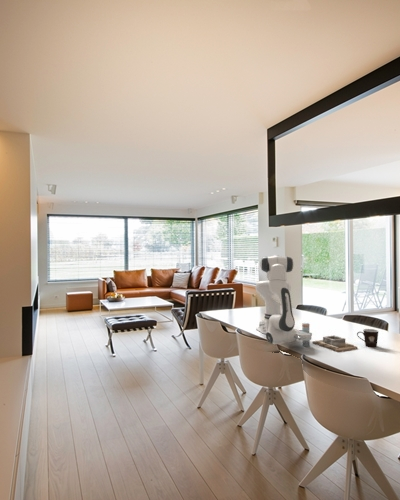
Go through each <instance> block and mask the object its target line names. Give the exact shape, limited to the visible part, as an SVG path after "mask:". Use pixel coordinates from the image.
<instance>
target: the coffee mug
mask: <svg viewBox="0 0 400 500" xmlns="http://www.w3.org/2000/svg"><path fill="white" fill-rule="evenodd" d="M359 334H362V335H363V338H364V339H363V338H361V336H359ZM356 336H357V337H358V338H359V339H360V340H362V341H363V342H364V344H365V346H366V347H367V348H373V349H374V348H378V339H379V330H378V329H375V328H374V329H373V328H365V329H364V328H363V331H358V332H357V333H356Z"/></svg>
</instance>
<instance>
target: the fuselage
mask: <svg viewBox="0 0 400 500" xmlns="http://www.w3.org/2000/svg"><path fill="white" fill-rule="evenodd" d="M301 325H302V326H301V327H302V328H301V330H302V331H303V332H306V333H310V323H309V322H302V324H301ZM310 342H311V340H306V341H302V346H304V347H310V345H311V344H310Z"/></svg>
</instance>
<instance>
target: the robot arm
mask: <svg viewBox="0 0 400 500" xmlns="http://www.w3.org/2000/svg"><path fill="white" fill-rule="evenodd" d="M294 265H295V263H294V261H293V258H292V257H289V256H282V255H281V256H280V255H272V256H271V255H270V256H262V258H261V259H260V261H259V267H260V269H261V271H262V272H265V273H266V279H267V280H259V281H257V283H256V284H255V291H256V293H257V294H258V295H259V296H260V297H261V298H262V299H263V301H264V304H265V305H264V306H265V313H264V318H263V319H261V321H259V325H258V327H256V328H255V330H256V331H258V332H260V333H262V334H265V338H266V340H267V342H269V344H271V345H281V344H284V343H285V344H288V343H294V342H295V341H296V340H298V341H306V340H310V341H312V336H313V333H312V332H309V333H306V332H303V331H302V329H300V330H299V329H296V328H294V327H295V325H296V324H295V323H296V322H295V318H294V314H293V306H292V300H291V299H292V298H291V284H290V283H289V282H288V281H287V273H291V272H292V271H293V269H294ZM273 296H277V297H278V299H280V302H279V301H278V300H276V299H275V298H273Z"/></svg>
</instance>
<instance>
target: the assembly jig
mask: <svg viewBox="0 0 400 500" xmlns="http://www.w3.org/2000/svg"><path fill="white" fill-rule="evenodd" d="M311 342H312V345H313V344H314V345H316V346H320V347H322V348H325V349H328V350H331V351H334V352H337V353H341V352H347V351H353V350H357V349H358V346H355V345H354V344H352V343H348V342H346V338H345V337H341V336H338V335H327V336H323V337H322V339H320V340H315V341H312V340H311Z"/></svg>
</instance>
